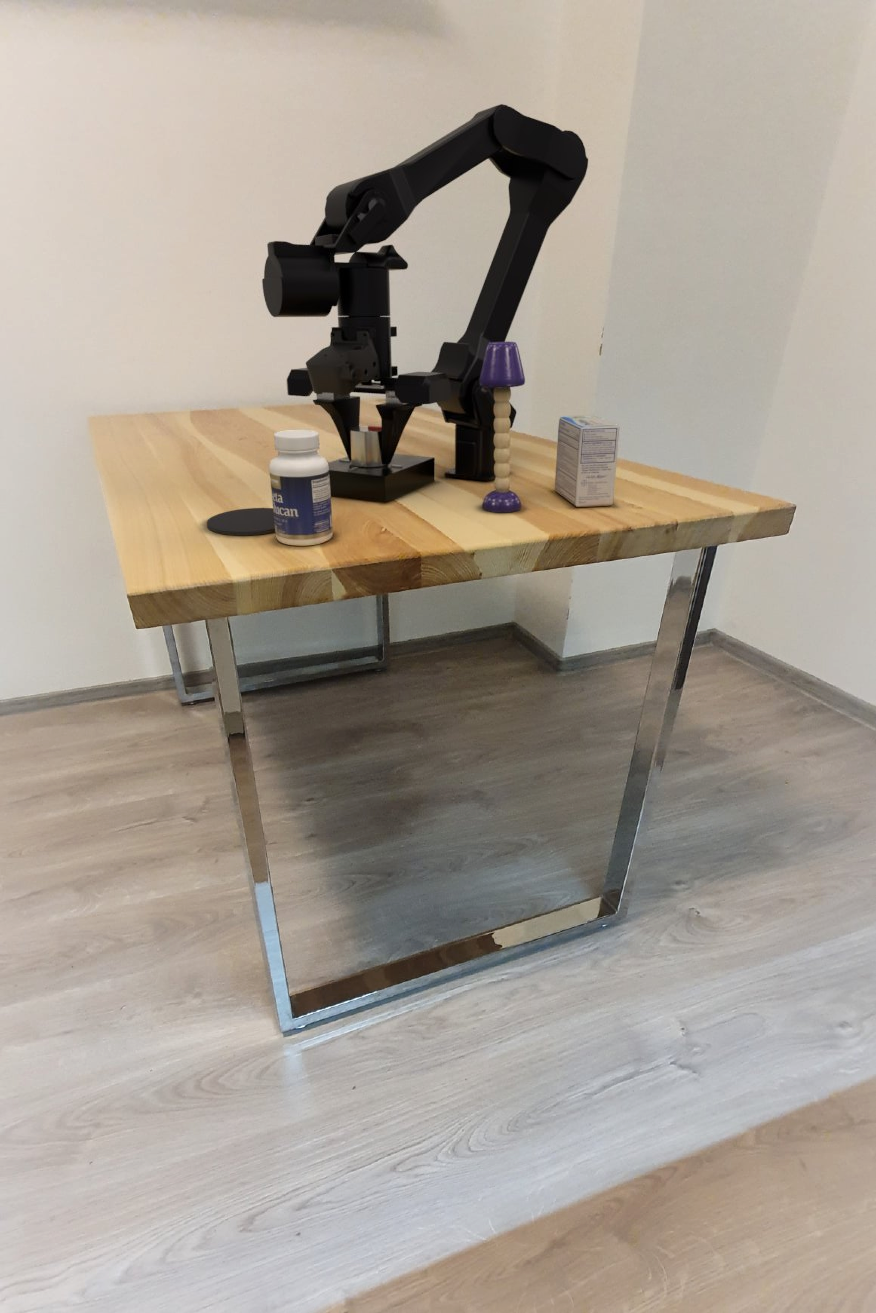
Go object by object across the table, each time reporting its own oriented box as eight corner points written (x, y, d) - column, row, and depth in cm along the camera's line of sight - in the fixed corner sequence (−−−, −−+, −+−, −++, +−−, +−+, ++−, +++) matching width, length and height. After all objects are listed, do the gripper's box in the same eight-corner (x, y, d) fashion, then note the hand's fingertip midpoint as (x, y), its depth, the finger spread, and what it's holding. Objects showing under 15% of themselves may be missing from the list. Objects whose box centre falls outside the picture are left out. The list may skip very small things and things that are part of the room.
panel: (367, 474, 95) (365, 449, 94) (434, 481, 91) (434, 456, 89) (312, 493, 85) (310, 466, 84) (385, 503, 81) (384, 474, 80)
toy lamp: (488, 515, 77) (493, 343, 69) (469, 505, 81) (472, 341, 73) (528, 510, 78) (537, 342, 71) (507, 500, 82) (514, 340, 75)
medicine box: (613, 506, 80) (622, 424, 76) (574, 508, 79) (581, 426, 75) (589, 490, 87) (596, 414, 83) (553, 491, 86) (558, 415, 82)
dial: (344, 465, 85) (342, 427, 83) (364, 458, 89) (362, 422, 87) (376, 468, 83) (375, 430, 81) (395, 462, 87) (394, 424, 85)
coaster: (247, 507, 80) (247, 504, 79) (315, 517, 76) (314, 514, 76) (187, 528, 72) (187, 524, 72) (258, 540, 69) (258, 536, 69)
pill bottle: (264, 542, 68) (252, 435, 64) (299, 527, 73) (290, 426, 68) (310, 550, 66) (301, 440, 62) (344, 535, 70) (338, 430, 66)
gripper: (247, 317, 76) (263, 467, 83) (401, 319, 69) (404, 484, 76) (311, 315, 85) (320, 451, 92) (453, 317, 78) (452, 465, 85)
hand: (369, 462), depth 86 cm, fingers closed on dial, 4 cm apart
